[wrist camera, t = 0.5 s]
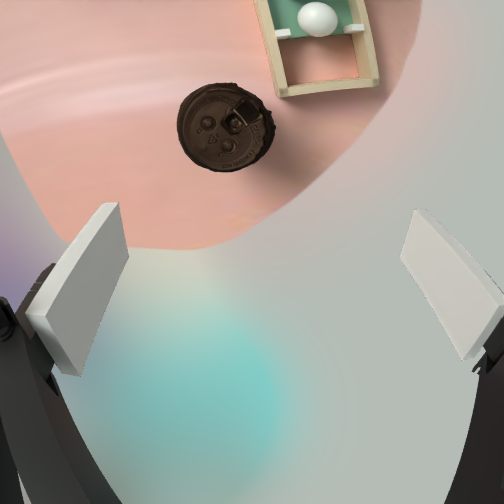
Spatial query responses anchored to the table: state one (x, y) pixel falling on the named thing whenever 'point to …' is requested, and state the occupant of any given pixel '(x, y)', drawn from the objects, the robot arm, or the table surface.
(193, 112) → the coffee cup
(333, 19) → the ball
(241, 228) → the table surface
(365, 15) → the pitch
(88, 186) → the table surface
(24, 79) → the table surface
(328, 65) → the table surface
